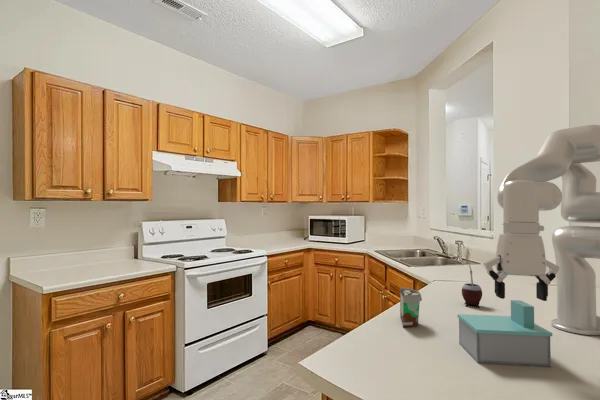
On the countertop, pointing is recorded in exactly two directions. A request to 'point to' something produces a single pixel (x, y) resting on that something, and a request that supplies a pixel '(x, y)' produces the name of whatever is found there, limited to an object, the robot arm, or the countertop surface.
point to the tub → (505, 348)
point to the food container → (409, 307)
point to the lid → (507, 322)
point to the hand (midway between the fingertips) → (520, 298)
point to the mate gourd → (471, 293)
